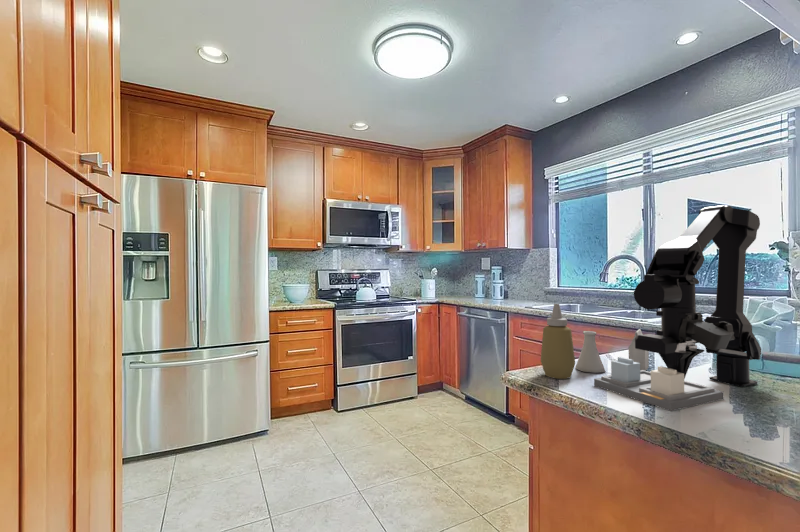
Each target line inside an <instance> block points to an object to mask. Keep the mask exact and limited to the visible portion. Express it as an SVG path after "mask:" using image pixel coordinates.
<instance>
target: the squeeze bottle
mask: <svg viewBox="0 0 800 532" xmlns="http://www.w3.org/2000/svg"><path fill="white" fill-rule="evenodd" d="M560 306H561V305H560V303H554V304H553V308H552V312H551V316H550V317H547V318H546V324H547V326H544V327H543V328H542V329H543V330H542V339H541V351H540V363H541V366H542V369H543V372H544V374H545V376H547V377H549V378H551V379H559V380H560V379H562V380H564V379H566V380H567V379H570V378H571V377H572V374H573V371H574V368H575V367H576V359H575V358H576V357H575V350H574V340H573V333H572V328H569V326H568V319H567V318H565V317H563V314H562V310H561V307H560Z"/></svg>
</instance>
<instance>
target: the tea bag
mask: <svg viewBox="0 0 800 532" xmlns="http://www.w3.org/2000/svg"><path fill="white" fill-rule="evenodd" d="M638 335H644V334H643V332H642V330H641V329H640V328H639V329H637V330H636V331H635V333H634V336H633V339H632V340H631V342H630V344H629V345H628V359H631V360H633V362H637V363H640V370H645V371H646V370H647V371H648V369H649V367H650V358H649V353H650V351H645V350H640V349H635V338H636V337H637V336H638Z"/></svg>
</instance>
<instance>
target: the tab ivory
mask: <svg viewBox="0 0 800 532" xmlns="http://www.w3.org/2000/svg"><path fill="white" fill-rule="evenodd" d="M650 372H651V390H652V391H655V392H658V393H662V394H665V395H668V396H669V395H674V394H679V393H684V381H685V379H684V373H680V372H677V370H675V369H671V368H667V366H662V365H659V366H657V369H653V370H650Z"/></svg>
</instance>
